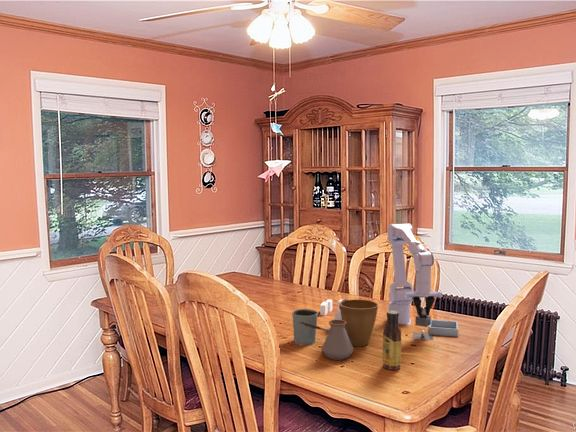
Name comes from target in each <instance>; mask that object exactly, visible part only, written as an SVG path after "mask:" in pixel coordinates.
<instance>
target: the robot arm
mask: <svg viewBox="0 0 576 432" xmlns="http://www.w3.org/2000/svg"><path fill="white" fill-rule="evenodd" d="M386 233H387V242H388V243H389V244H391V251H392V261H393V262H392V263H393V271H394V274H393V275H394V281H393V282H392V283H391V284H390V285H389V292H388V298H389V300H390V302H389V303H388V309H387V311H390V310H393V311H398V312H399V316H398V325H411V322H412V319H411V304H412V302H413V303H414V306H415V309H416V314H417V315H416V316H421V307H422V300H421V298H422V299H423V298H424V301H425V307H426V308H427V316H430V312H431V309H432V306H433V305H434V302H435V301H436V300H435V299H436V298H442V297H443V293H442V292H441V291H431V290H432V289H431V287H432V266H433V265H434V262H435V258H434V255H433V252H432V251H429V250H426V248H425V247H424V245H423V244H422V242H420V241H419V240H416V237H415V236H414V234H413V233H414V228H413V225H412V224H411V223H389V225H388V226H387V231H386ZM405 243H406V244H407V249H408V251H409V253H410V254H411V255H412V257H413V264H414V270H415V272H416V273H415V277H416V278H415V291H414V289H413V284H412V283H410V282H409V281H407V274H406V273H407V272H406V263H405V262H406V261H405V252H404V245H405Z"/></svg>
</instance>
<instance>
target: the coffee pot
mask: <svg viewBox="0 0 576 432" xmlns="http://www.w3.org/2000/svg"><path fill="white" fill-rule="evenodd" d="M300 323H301V326H302V324H304V325H305V326H309V327H311V328H315V329H316V330H320V331H324V332H327V336H326V338H325V340H324V342H323V344H322V347H321V350H322V352H323V353H324V354H325V356H326V357H327V358H328V359H331V360H336V361H341V360H347V359H348V358H349V357H350V356H351V355H352V354H353V352H354V346H353V345H352V344H351V342H350V339H349V337H348V335H347V332H346V330H345V324H346V321H344V320H335V319H331V320H329V321H328V324H329V326H330V329H329V328H324V327H321V326H318V325H313V324H308V323H307V322H306V323H304V322H300ZM298 326H299V324H298Z"/></svg>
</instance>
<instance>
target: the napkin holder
mask: <svg viewBox="0 0 576 432" xmlns="http://www.w3.org/2000/svg"><path fill="white" fill-rule="evenodd" d="M319 307H320V311H319V312H320V314H319V315H320V316H326V315H327V314H328V313H330V312H332V311H333V299H331V298H330V299H326V300H325V301H322V302H321V304H319Z"/></svg>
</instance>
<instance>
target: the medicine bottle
mask: <svg viewBox="0 0 576 432" xmlns="http://www.w3.org/2000/svg"><path fill="white" fill-rule="evenodd" d="M346 300H348V299H347V298H345V299H343V298H342V299H339V300H337V310H336V311H335V312H334V320H342V317H341V311H340V302H342V301H346Z"/></svg>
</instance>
